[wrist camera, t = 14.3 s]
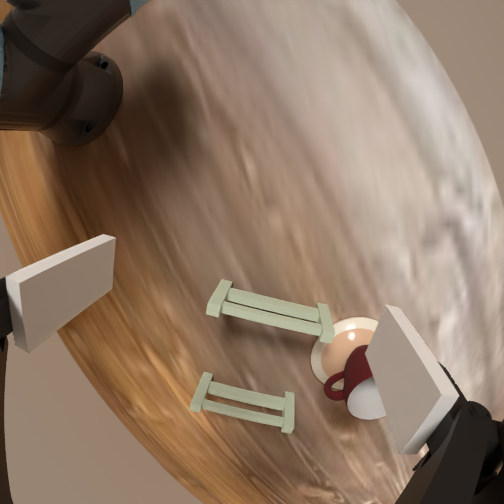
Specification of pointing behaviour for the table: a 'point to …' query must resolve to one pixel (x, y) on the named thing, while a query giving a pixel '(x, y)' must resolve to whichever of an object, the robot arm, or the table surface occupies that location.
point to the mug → (357, 387)
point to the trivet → (341, 347)
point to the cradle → (317, 314)
